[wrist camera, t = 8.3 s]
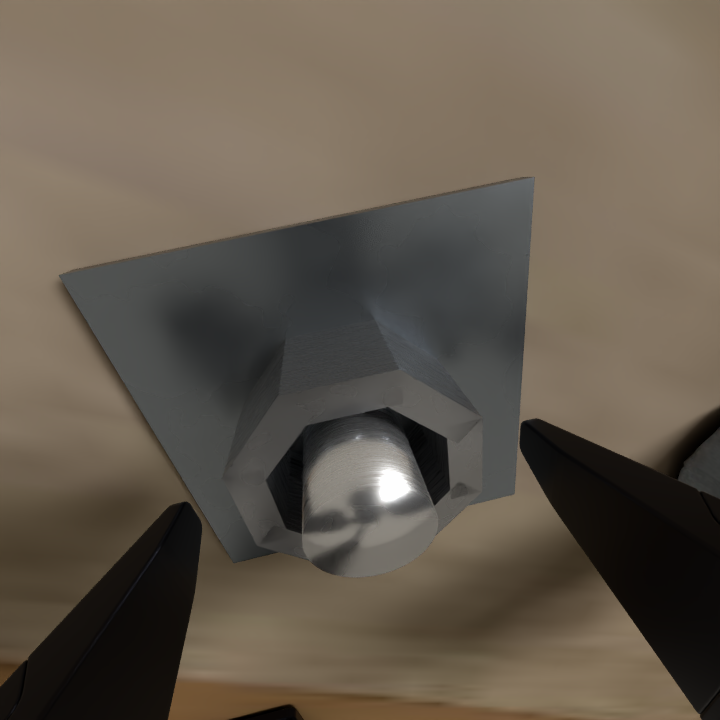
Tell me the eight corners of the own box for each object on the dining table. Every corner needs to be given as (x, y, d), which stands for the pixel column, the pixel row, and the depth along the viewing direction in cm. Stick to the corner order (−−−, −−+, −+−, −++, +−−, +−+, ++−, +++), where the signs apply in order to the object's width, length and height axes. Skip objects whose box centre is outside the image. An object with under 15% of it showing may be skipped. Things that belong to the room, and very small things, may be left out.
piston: (236, 549, 14) (205, 709, 10) (73, 269, 9) (-163, 358, 4) (507, 483, 15) (591, 608, 11) (521, 177, 9) (718, 172, 5)
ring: (282, 500, 13) (276, 583, 10) (221, 352, 10) (189, 415, 7) (446, 461, 13) (481, 533, 10) (436, 306, 10) (482, 350, 7)
